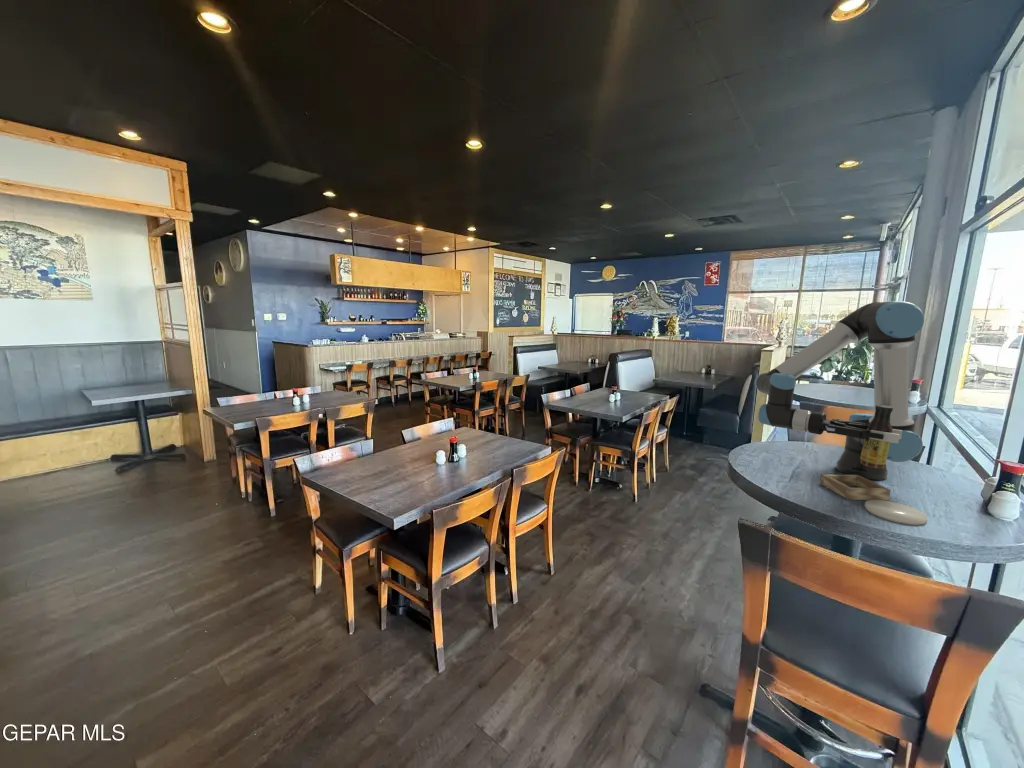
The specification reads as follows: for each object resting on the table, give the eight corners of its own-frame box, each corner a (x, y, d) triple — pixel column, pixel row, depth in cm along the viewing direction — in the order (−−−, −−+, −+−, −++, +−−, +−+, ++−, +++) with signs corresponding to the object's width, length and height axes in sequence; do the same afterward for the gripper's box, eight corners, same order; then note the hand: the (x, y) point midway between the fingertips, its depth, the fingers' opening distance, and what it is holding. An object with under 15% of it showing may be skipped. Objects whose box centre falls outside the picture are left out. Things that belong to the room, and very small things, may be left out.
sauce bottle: (854, 462, 135) (863, 403, 132) (872, 462, 135) (882, 403, 132) (872, 470, 128) (883, 407, 125) (891, 470, 129) (902, 408, 125)
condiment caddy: (856, 484, 148) (858, 474, 147) (888, 500, 135) (890, 490, 134) (820, 483, 148) (821, 474, 147) (848, 499, 135) (850, 489, 134)
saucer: (897, 503, 132) (897, 500, 132) (941, 525, 119) (941, 521, 118) (853, 502, 133) (853, 499, 132) (891, 524, 119) (892, 520, 119)
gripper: (815, 427, 150) (901, 442, 133) (800, 437, 137) (893, 455, 120) (818, 407, 149) (905, 420, 132) (803, 415, 136) (898, 430, 119)
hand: (899, 436), depth 126 cm, fingers closed on sauce bottle, 6 cm apart
